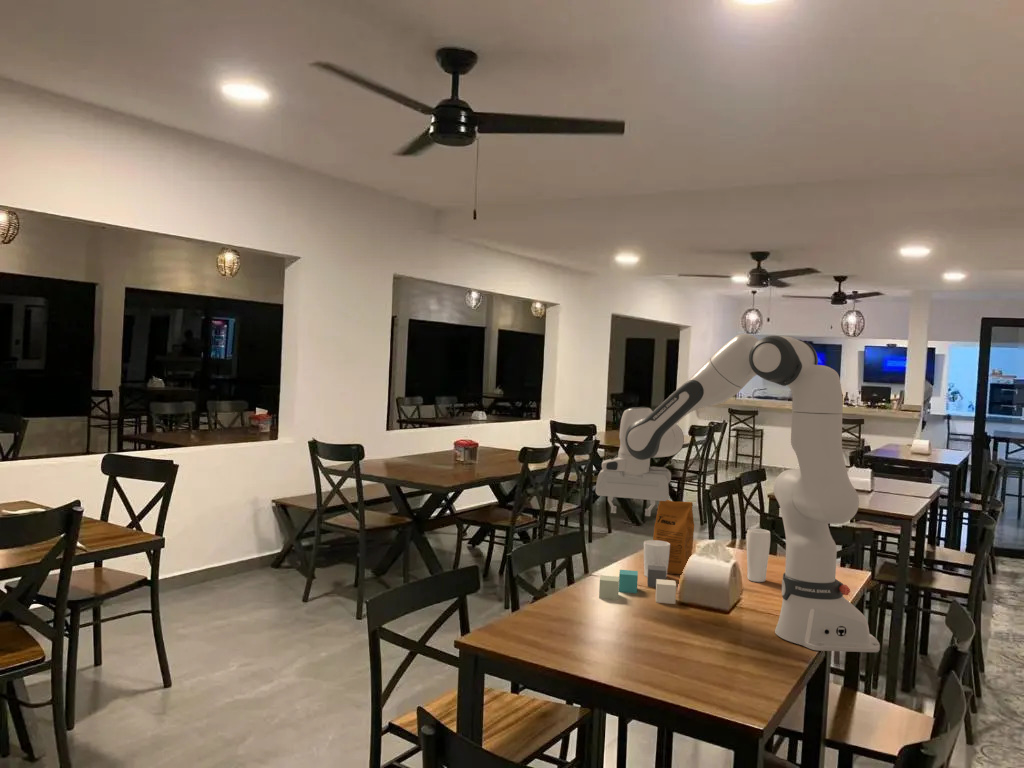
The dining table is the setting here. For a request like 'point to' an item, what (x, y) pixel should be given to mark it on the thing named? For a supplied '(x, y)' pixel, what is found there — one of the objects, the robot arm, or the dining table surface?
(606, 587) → the sage cube
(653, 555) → the white cup
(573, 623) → the dining table surface
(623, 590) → the teal cube
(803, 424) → the robot arm
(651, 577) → the charcoal cube
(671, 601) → the cream cube
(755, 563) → the drinking glass
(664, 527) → the coffee package
